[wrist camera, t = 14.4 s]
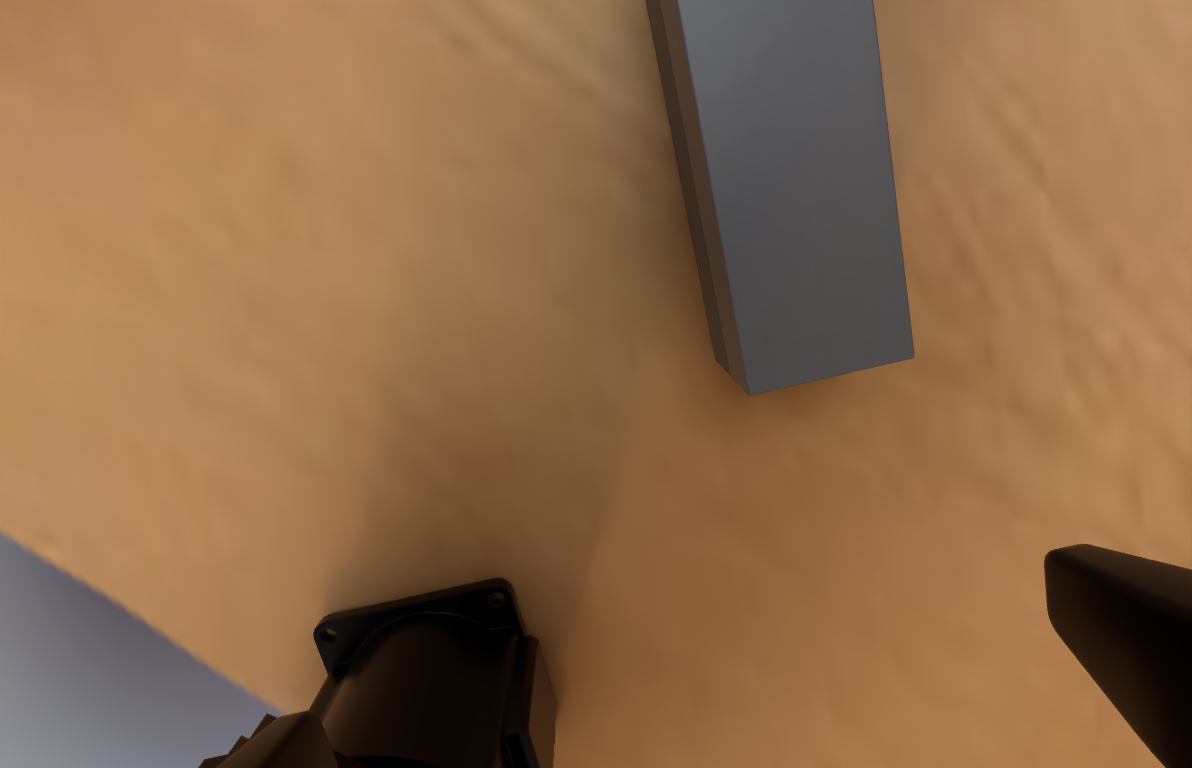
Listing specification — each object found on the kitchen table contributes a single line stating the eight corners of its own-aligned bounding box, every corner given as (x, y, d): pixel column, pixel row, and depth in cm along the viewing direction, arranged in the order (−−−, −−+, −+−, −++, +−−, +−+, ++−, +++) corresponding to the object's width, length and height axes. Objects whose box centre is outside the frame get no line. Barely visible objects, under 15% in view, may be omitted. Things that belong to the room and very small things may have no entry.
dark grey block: (713, 362, 19) (746, 397, 15) (633, -50, 17) (649, -133, 13) (849, 330, 19) (918, 358, 15) (791, -91, 16) (855, -188, 13)
